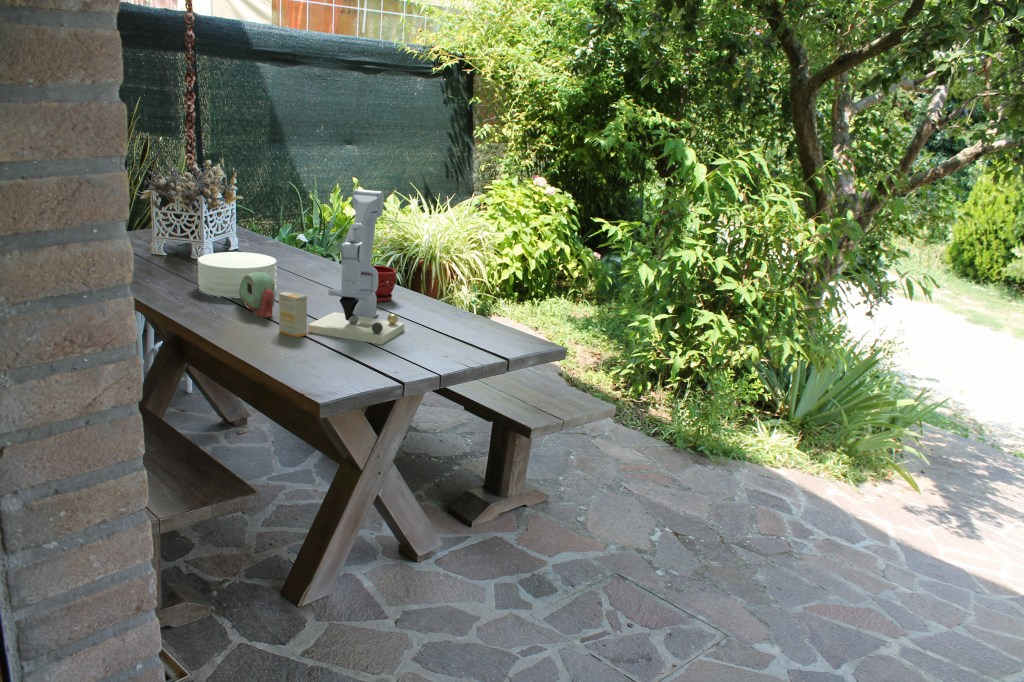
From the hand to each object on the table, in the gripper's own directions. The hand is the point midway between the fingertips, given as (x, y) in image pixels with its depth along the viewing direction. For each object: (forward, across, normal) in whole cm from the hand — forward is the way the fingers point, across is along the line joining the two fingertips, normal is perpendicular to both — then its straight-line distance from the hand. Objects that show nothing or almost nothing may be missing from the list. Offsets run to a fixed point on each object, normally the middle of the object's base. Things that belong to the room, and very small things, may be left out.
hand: (348, 319), depth 282 cm
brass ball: (-1, +12, +7) cm, 14 cm away
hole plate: (+4, +2, +1) cm, 5 cm away
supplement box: (+5, -13, -12) cm, 19 cm away
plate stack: (+3, -60, +27) cm, 66 cm away
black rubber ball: (0, +12, -5) cm, 13 cm away
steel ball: (0, +1, 0) cm, 1 cm away
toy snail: (+4, -37, +5) cm, 37 cm away
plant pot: (+2, -10, +43) cm, 44 cm away
